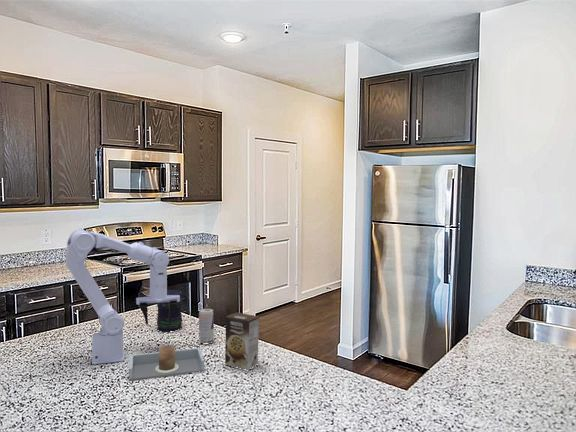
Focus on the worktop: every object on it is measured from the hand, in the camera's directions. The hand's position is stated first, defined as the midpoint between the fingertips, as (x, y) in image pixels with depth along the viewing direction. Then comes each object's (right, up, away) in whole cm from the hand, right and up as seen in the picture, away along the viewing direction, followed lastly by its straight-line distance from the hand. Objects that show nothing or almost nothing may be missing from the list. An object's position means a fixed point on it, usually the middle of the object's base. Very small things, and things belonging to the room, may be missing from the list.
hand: (158, 322), depth 145 cm
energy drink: (+15, -10, +8) cm, 20 cm away
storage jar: (-3, -8, +23) cm, 25 cm away
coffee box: (+31, -11, -12) cm, 35 cm away
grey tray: (+8, -10, -16) cm, 20 cm away
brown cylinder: (+8, -10, -17) cm, 21 cm away
